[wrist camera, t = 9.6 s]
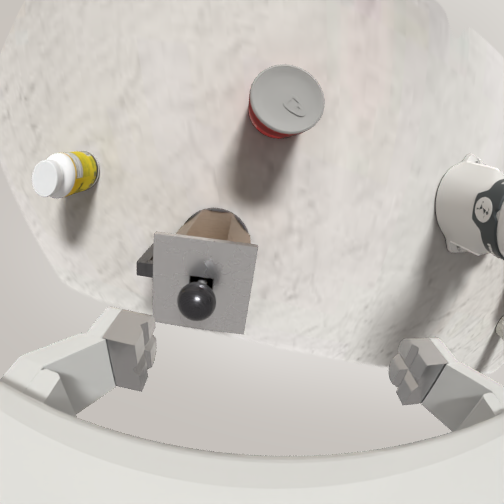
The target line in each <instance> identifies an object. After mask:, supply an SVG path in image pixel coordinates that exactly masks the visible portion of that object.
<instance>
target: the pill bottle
mask: <svg viewBox="0 0 504 504" xmlns="http://www.w3.org/2000/svg"><path fill="white" fill-rule="evenodd" d="M98 177H99V163H98V160H97V158H96V157H95V156H94V155H93V154H92V153H90V152H87V151H77V152H63V153H56V154H53V155H51V156H49V157H48V158H47V159H46V160H43V161H41V162H39V163H38V164H37V165H36V166H35V168H34V170H33V174H32V185H33V188H34V190H35V192H36V193H37V194H38V195H40V196H42V197H48V196H50V197H52V198H63V197H66V196H69V195H72V194H75V193H78V192H81V191H84V190H87V189H89V188H91V187H92V186H93V185H94V184H95V183H96V181H97V179H98Z"/></svg>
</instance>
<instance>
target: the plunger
mask: <svg viewBox="0 0 504 504" xmlns="http://www.w3.org/2000/svg"><path fill="white" fill-rule="evenodd" d="M207 282H208V278H204V277H199V279H198V282H192V283H189V284H187V285H185V286H184V287H183V288H182V289H181V290H180V292H179V294H178V297H177V305H178V309H179V311H180V312H181V314H182V315H183V316H184V317H186V318H187V319H189V320H192V321H202V320H205V319H207V318H208V317H210V316H211V315H212V313H213V312H214V310H215V307H216V297H215V294H214V292H213V290H212V289H211V288H210V287H209V286H208V285H207Z"/></svg>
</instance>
